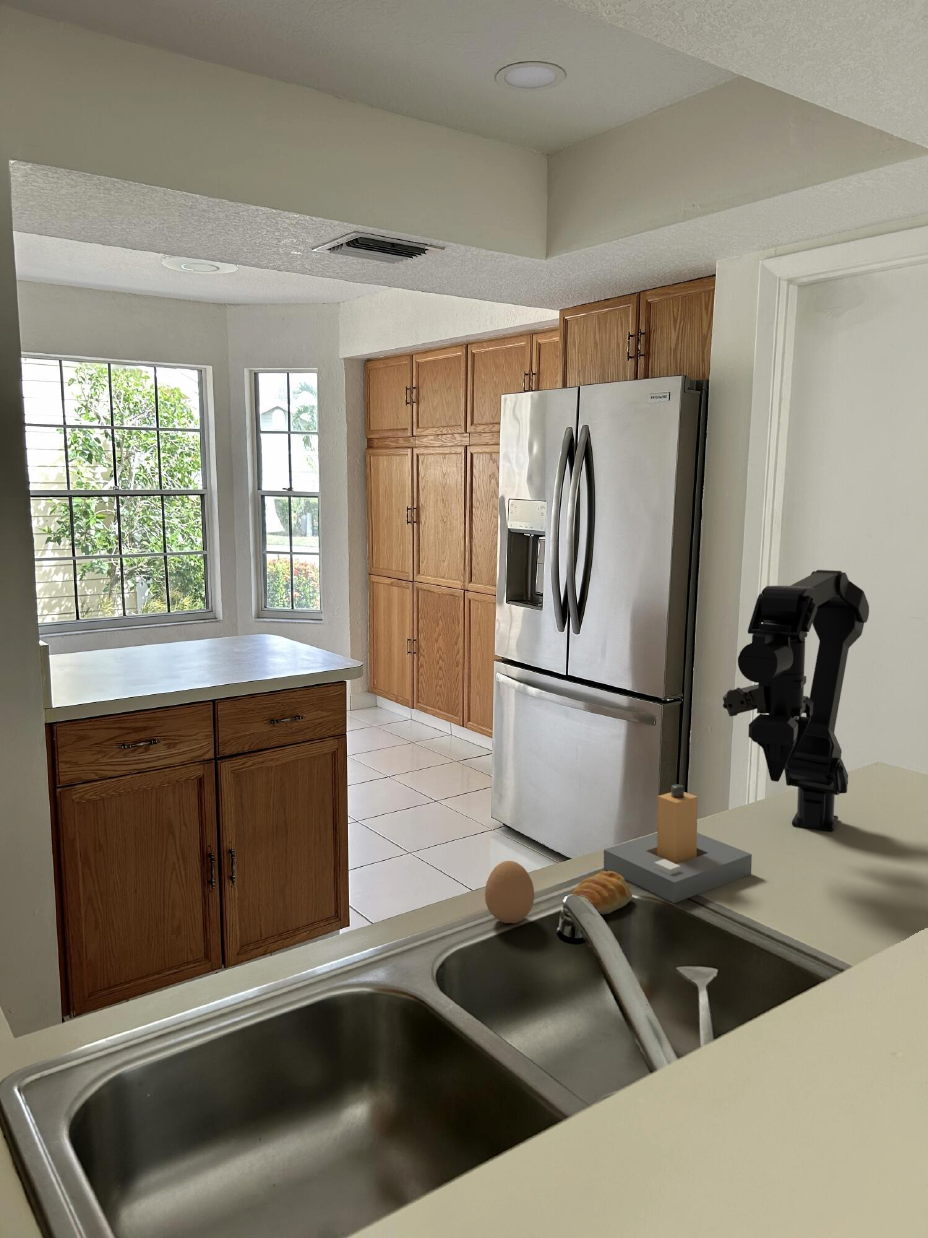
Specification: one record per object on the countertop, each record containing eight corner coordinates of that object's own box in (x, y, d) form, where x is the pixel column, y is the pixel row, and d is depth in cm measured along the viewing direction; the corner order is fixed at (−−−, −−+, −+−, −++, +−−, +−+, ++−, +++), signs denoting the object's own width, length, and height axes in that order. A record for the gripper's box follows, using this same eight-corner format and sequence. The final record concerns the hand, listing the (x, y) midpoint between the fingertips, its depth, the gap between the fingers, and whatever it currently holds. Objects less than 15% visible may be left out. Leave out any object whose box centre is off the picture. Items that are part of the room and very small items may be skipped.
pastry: (595, 927, 118) (595, 899, 117) (554, 911, 123) (554, 884, 122) (635, 902, 125) (635, 876, 124) (595, 888, 129) (595, 863, 129)
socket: (679, 843, 144) (679, 820, 143) (751, 873, 132) (751, 849, 132) (603, 868, 135) (603, 844, 135) (674, 903, 124) (674, 876, 123)
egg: (524, 907, 123) (524, 849, 122) (541, 929, 117) (541, 868, 116) (479, 914, 122) (478, 855, 120) (494, 937, 115) (493, 875, 114)
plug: (677, 863, 136) (678, 780, 135) (696, 871, 133) (697, 786, 132) (656, 871, 134) (657, 786, 132) (675, 879, 131) (676, 792, 129)
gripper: (742, 656, 147) (740, 749, 149) (713, 678, 131) (711, 782, 133) (815, 661, 142) (811, 758, 144) (794, 685, 125) (791, 793, 128)
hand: (780, 772), depth 137 cm, fingers open, 9 cm apart
